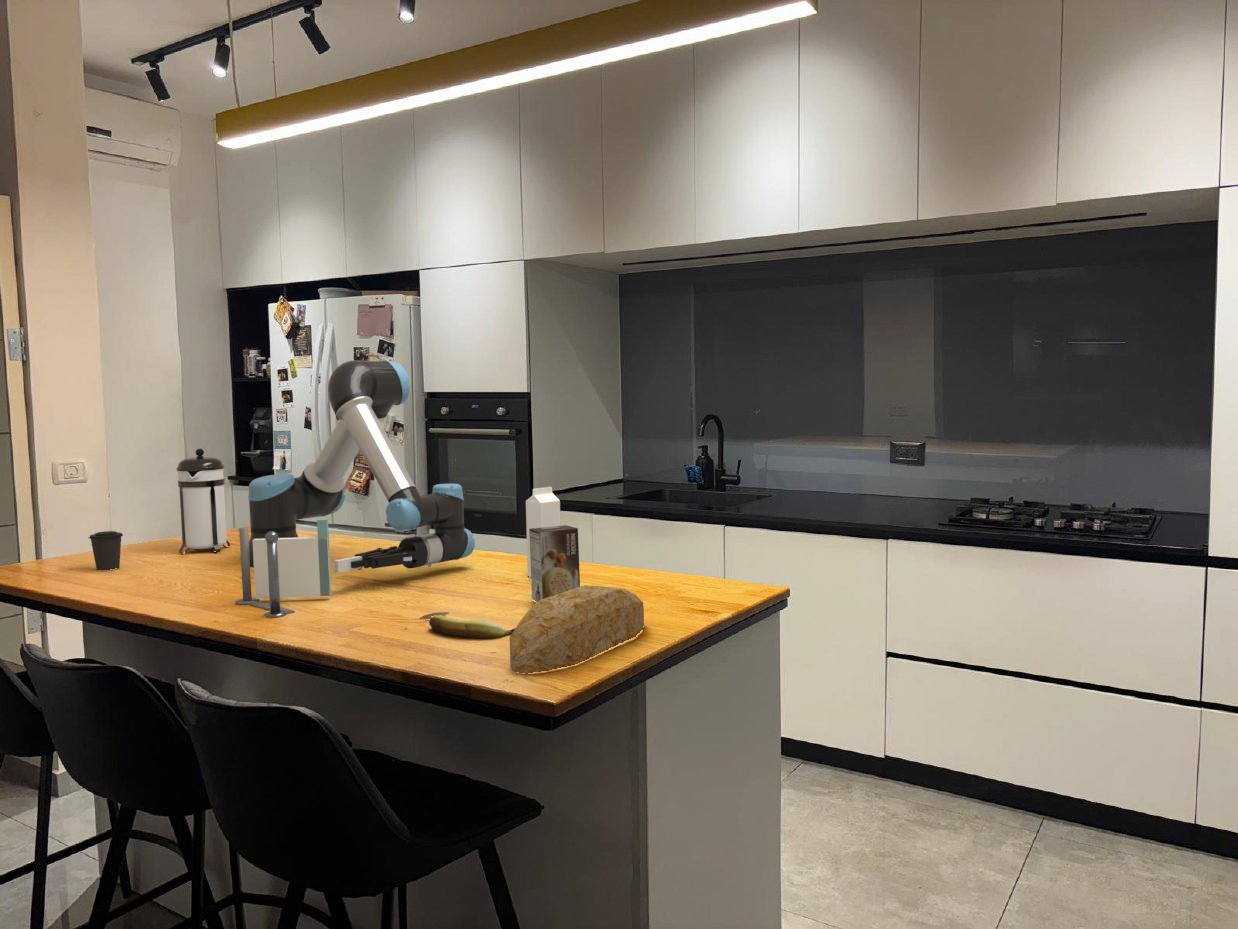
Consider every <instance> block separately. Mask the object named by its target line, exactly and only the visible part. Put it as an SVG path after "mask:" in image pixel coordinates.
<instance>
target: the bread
mask: <svg viewBox="0 0 1238 929" xmlns="http://www.w3.org/2000/svg"><path fill="white" fill-rule="evenodd" d="M643 626H644V627H645V608H644V602H643V600H641V598H639V596H638V595H637V594H636V593H633V591H632V592H631V591H629V590H627V589H626V588H618V587H610V586H602V585H591V584H590V585H589V584H587V585H586V584H584V585H580V587H578V588H575V589H572V590H569V591H566V592H563V593H560V594H557V595H554V596H551V597H548V598H545V599H542V600H539V601H538V602H537V603H536V602H535V603H534V604H533V605H532V606H531V607H530V608H529V609H527V612H526V613H525V614H524V615H523V617H522V619H521V620H520V621H519V622H518V624H517V625H516V627H514V628H515V630H514V631H513V633H512V634H511V635H509V657H510V659H509V661H510V663H509V665H510V669H511V668H512V669H511V670H512V672H513V671H514V672H519V673H525V674H528V673H533V672H541V671H549V670H552V669H557V668H561V667H567V666H571V665H575V664H578V663H580V662H582V661H585V660H587V659H589V658H590V657H593V656H595V655H597V654H599V653H601V652H603V651H605V650H608V649H609V648H611V647H614V646H616V645H618V644H619V643H623V642H624V641H626V640H629V639H631V638H633V637H636V635H637V634H638V633H640V631H641V630H643ZM514 672H513V673H514ZM519 673H518V674H519Z"/></svg>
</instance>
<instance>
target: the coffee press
mask: <svg viewBox="0 0 1238 929" xmlns="http://www.w3.org/2000/svg"><path fill="white" fill-rule="evenodd" d="M204 453H205V451H204V450H203V448H198V449H196V450H195V455H196V457H189V458H184V459H182V460H181V461H180V462H178V465H177V467H176V468H175V469H176V472H177V477H178V480H177V487H178V494H179V496H178V497H179V510H180V526H181V527H180V528H181V543H182V545H181V547H180V548H179V550H178V553H179V554H180V553H183V550H184V548H185V550H184V551H185V552H187V553H188V551H190V550H203V549H209V550H210V549H211V550H212V552H213V551H216V552H221V549H220V547H221V546H222V547H224V548H226V546H230V547H231V543H230V542H229V540H227V539H228V538H227V536H228V534H227V520H226V519H227V516H226V514H227V513H226V500H225V499H226V498H225V484H226V483H225V482H226V481H225V477H224V470H225V465H224V464H223V461H222V460H220V459H219V458H217V457H211V456H210V457H209V456H204ZM226 544H227V545H226Z"/></svg>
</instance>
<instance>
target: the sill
mask: <svg viewBox="0 0 1238 929" xmlns="http://www.w3.org/2000/svg"><path fill="white" fill-rule="evenodd" d="M260 599H261V598H255V597H252V600H247V601H244V600H243V598H240V599H236V600H235V602H234V604H235V605H237V606H252V607H254V606H256V607H255V608H258V607H259V609H262V610H266V609H267V610H266V611H269V610H270V603H265V602H262V601H260ZM280 611H286V612H287V614H286V615H288V614H293V613H295V610H293V609H289V608H285V607H282V606H280Z"/></svg>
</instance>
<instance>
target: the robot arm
mask: <svg viewBox="0 0 1238 929" xmlns="http://www.w3.org/2000/svg"><path fill="white" fill-rule="evenodd" d="M410 389H411V383H410V378H409V374H408V373H407V371H406V370H405V368H404V366H402V365H401V364H400V363H398V362H395V361H389V360H385V359H384V360H349V361H345V362H343V363H341V364H340V365H338V366H337V367H336V368H335V369H334V370H333V372H332V373H331V375H330V376H329V380H328V385H327V395H328V400H329V403H330V406H331V408H332V411H333V413H334V415H335V416H336V418H337V419H338V422H337V423H336V425H335V427H334V429H333V430H332V432H331V433H330V436H329V438H328V439H327V441H326V443H325V444H324V446H323V447H322V449H321V451H320V453H319V454H318V457H317V458H316V460H315V462H311V463H308V464H307V465H306V466H305V468H304V469H303V471H302V473H301V475H300V476H299V477H294V475H293V474H291V473H277V474H269V475H263V476H260V477H257V478H255V479H253V480H251V482H250V483H249V484H248V496H247V498H248V501H249V505H248V506H249V519H250V520H249V522H250V523H249V524H250V525H249V526H250V537H249V555H250V565H251V566H250V567H254V560H253V541H252V540H254V539H264V538H265V535H266V534H267V533H268V532H271V531H273V532H276V533H277V534H278V538H297V537H299V536H298V532H297V520H304V519H312V518H319V517H326V516H328V515H332V514H334V513H336V512H338V511H339V510H340V509H341V508H342V506H343V504H344V502H345V499H346V495H345V493H346V485H345V481H344V480H345V479H344V476H345V474H346V473H347V471H348V470H349V468H350V467H351V465H352V463H353V461H354V460H355V458H356V457H357V455H358V453H359V451H360V453H361V454H362V457H363V458H364V461H366V462H365V463H366V465H368V468H369V469H370V471H371V473H372V475H373V477H374V479H375V480H376V481H377V483H378V485H379V487H380V489H381V491H382V492H383V495H384V496H385V498H386V500H387V503H388V504H387V506H386V509H385V515H386V521H387V523H388V524H389V526H390V527H391V528H392V529H394V530H398V531H404V530H405V531H406V530H414V529H418V528H422V527H426V526H432V525H433V528H434V529H433V530H434V533H428V534H422V535H416V536H411V537H410V536H409V537H405V538H403V539H401V541H400V542H399V543H398V544H399V545H396V546H395V545H394V546H389V547H388V548H383V547H377V548H376V549H372V550H368V551H364V552H360V553H356V554H354V556H351V557H346V558H340V559H339V558H338V559H335V560H333V565H334V573H337V574H339V573H345V572H351V571H356V570H357V571H361V570H362V569H363V568H364V569H369V568H371V569H372V570H374V569H379V568H386V567H393V566H403V567H405V568H406V569H409V570H410V569H415V568H421V567H422V566H423V567H424V566H427V567H428V568H431V567H432V565H434V564H438V563H439V564H440V563H446V562H450V561H458V560H460V559H464V558H467V557H469V556H470V555H472V554H473V552H474V550H475V546H476V544H475V542H476V541H475V538H474V537H473V536H474V534H473V533H472V532H471V530H469V529H468V528H465V516H464V514H465V512H464V502H465V499H464V493H463V492H464V491H463V487H462V485H460V484H459V483H439V484H438V483H437V484H435V485H433V487H432V492H431V493H430V494H429V493H428V494H423V495H422V494H421V493H420V491H419V490H418V488H417V486H416V485H415V483H414V482H413V479H412V478H411V476H410V475H409V472H408V471H407V469H406V466H405V465H404V463H403V461H402V460H401V457H400V456H399V455H398V454H399V453H397V451H396V449H395V447H394V445H393V444H392V442H391V440H390V438H389V437H388V434H387V433H386V431H385V429H384V427H383V425H382V423H381V422H380V420H383V419H385V418H386V417H387V416H388V414H389V413H390V411H391V409H392V408H393V407H394V406H399V405H402V404H404V403H405V402H406V401H407V399H408V398H409V395H410V392H411V390H410Z"/></svg>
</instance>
